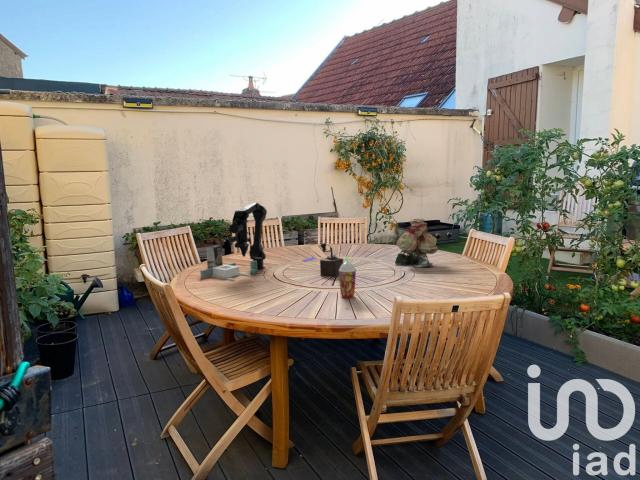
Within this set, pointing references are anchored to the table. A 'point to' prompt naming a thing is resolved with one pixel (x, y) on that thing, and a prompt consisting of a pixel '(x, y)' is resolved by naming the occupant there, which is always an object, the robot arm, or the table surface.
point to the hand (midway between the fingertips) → (243, 256)
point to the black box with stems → (330, 264)
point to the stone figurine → (415, 245)
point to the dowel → (253, 267)
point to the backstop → (209, 273)
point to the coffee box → (214, 256)
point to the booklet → (309, 259)
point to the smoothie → (347, 279)
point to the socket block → (226, 271)
